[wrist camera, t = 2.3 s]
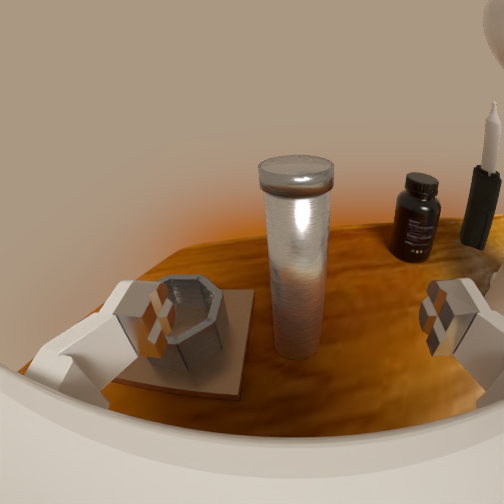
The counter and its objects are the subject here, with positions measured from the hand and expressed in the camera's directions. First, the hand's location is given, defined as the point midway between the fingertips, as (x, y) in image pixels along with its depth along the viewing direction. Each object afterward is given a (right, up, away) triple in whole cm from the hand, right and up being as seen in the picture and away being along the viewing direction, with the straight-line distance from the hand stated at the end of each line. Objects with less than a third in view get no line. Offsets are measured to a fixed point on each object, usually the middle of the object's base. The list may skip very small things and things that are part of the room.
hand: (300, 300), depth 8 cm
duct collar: (-9, -8, +21) cm, 24 cm away
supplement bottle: (+23, +1, +31) cm, 38 cm away
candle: (+38, +3, +31) cm, 49 cm away
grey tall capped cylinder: (+3, -8, +20) cm, 21 cm away
